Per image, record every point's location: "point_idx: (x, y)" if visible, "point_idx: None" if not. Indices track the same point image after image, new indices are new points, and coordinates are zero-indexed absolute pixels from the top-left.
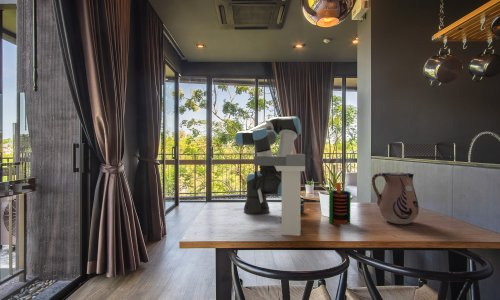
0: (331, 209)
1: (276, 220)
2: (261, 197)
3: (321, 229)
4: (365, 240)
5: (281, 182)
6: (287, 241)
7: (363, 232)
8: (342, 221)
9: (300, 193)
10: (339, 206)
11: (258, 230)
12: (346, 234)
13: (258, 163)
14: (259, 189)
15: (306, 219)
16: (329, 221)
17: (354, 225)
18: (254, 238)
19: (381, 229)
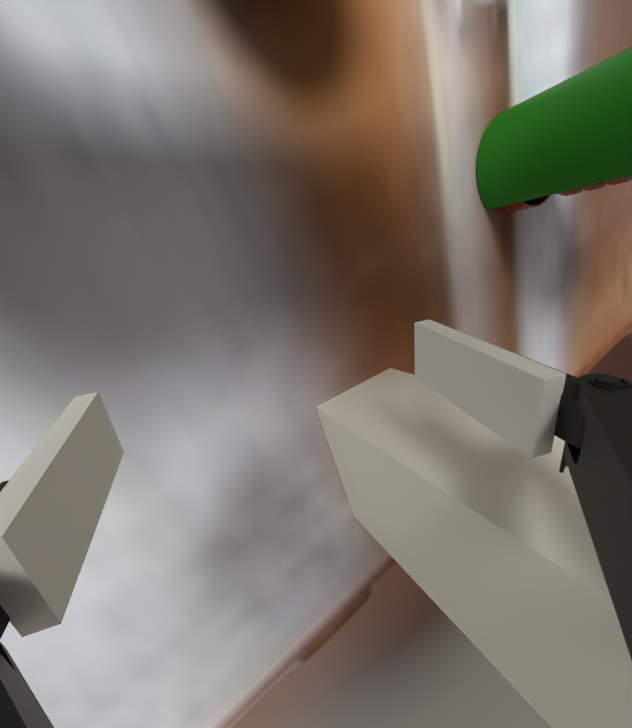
0: (568, 190)
1: (203, 275)
2: (93, 459)
3: (464, 332)
4: None
5: (593, 518)
6: None
7: (571, 289)
8: (539, 203)
9: None
10: (622, 182)
11: (225, 545)
12: (533, 348)
13: None
14: (17, 580)
15: (368, 151)
16: (485, 189)
17: None
18: (276, 639)
19: (612, 214)
